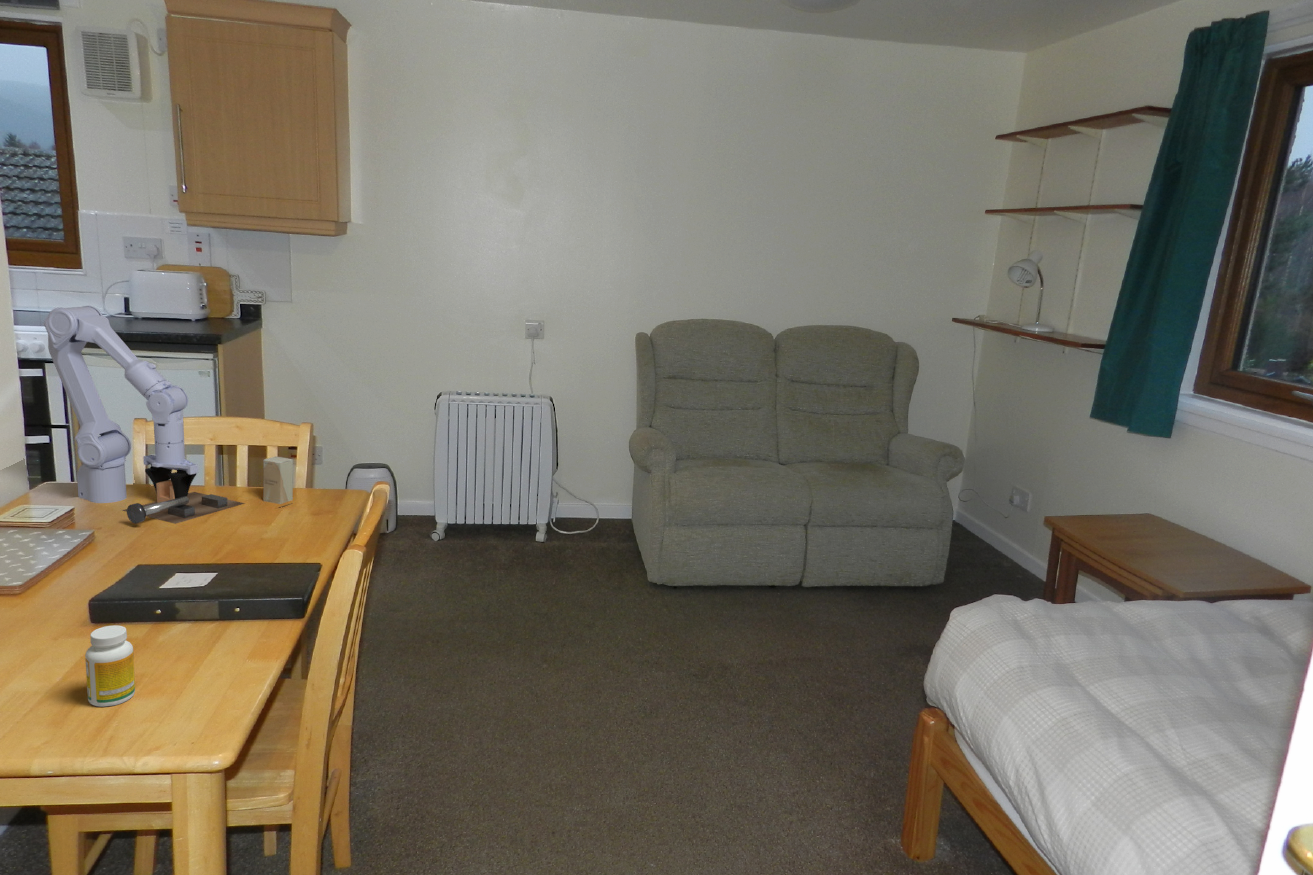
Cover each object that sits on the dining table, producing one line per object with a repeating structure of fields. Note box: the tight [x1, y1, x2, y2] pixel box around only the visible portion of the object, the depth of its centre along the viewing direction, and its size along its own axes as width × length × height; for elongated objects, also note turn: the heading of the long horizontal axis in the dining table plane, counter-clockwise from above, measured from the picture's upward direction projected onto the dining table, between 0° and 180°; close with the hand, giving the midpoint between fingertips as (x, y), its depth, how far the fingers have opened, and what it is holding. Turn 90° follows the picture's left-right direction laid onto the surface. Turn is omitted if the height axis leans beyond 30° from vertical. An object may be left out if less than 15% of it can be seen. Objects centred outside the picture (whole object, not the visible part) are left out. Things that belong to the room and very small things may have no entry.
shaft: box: [126, 496, 189, 524], centre depth 177 cm, size 4×12×4 cm, turn 158°
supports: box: [168, 493, 228, 518], centre depth 186 cm, size 5×11×2 cm, turn 158°
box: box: [262, 456, 294, 509], centre depth 196 cm, size 5×4×11 cm
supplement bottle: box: [84, 624, 136, 708], centre depth 112 cm, size 5×5×10 cm
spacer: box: [156, 479, 175, 503], centre depth 189 cm, size 5×4×5 cm
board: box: [121, 491, 246, 525], centre depth 188 cm, size 16×18×1 cm
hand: (172, 499), depth 189 cm, fingers closed on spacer, 5 cm apart
